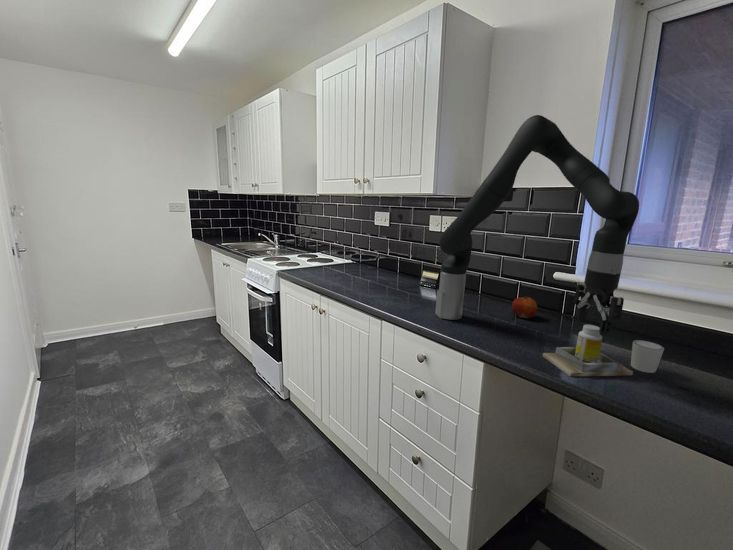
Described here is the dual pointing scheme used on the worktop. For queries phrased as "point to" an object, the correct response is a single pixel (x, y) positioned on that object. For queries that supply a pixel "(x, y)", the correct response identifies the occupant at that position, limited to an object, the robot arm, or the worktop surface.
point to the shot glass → (646, 356)
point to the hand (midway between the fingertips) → (591, 327)
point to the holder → (585, 364)
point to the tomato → (524, 307)
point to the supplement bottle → (588, 344)
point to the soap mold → (539, 546)
